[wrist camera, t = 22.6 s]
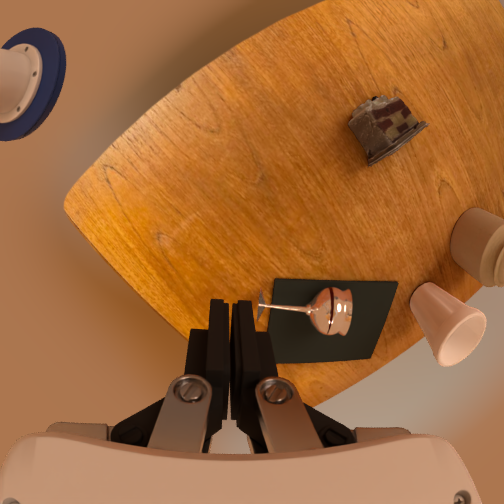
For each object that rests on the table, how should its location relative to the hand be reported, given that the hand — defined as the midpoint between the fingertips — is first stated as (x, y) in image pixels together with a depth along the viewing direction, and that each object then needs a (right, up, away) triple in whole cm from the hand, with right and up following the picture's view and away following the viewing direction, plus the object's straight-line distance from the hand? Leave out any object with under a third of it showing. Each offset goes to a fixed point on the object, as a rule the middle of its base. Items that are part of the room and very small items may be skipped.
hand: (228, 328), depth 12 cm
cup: (+31, -4, +32) cm, 45 cm away
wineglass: (+2, -4, +27) cm, 27 cm away
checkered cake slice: (+18, +20, +21) cm, 34 cm away
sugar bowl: (+41, +7, +28) cm, 50 cm away
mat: (+13, -8, +32) cm, 36 cm away
